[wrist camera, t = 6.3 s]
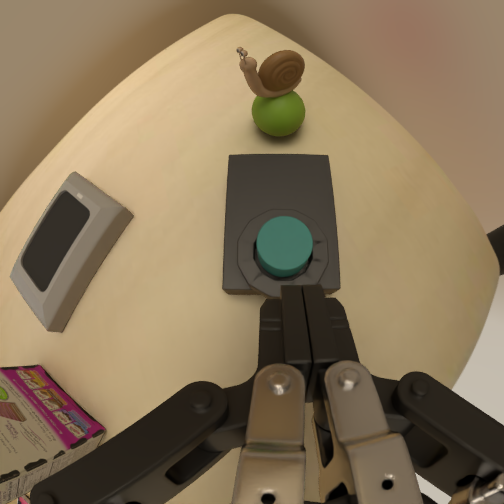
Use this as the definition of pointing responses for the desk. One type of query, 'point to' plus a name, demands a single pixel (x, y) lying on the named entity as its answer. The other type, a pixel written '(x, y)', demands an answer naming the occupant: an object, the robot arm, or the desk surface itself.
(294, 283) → the black button base
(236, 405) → the robot arm
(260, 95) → the snail figurine
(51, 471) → the candy bar box
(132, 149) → the desk surface
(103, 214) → the grey bevelled block
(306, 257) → the push button
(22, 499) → the smartphone
